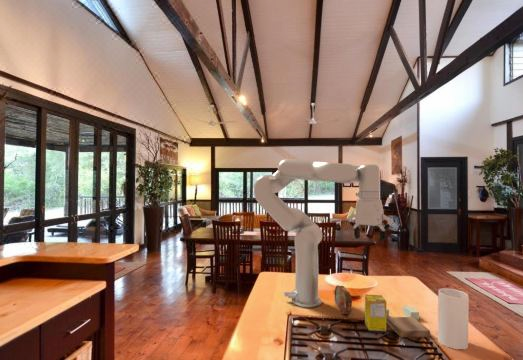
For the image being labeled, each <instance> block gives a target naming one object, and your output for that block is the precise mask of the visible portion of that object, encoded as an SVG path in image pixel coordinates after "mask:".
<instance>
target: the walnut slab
mask: <svg viewBox="0 0 523 360" xmlns="http://www.w3.org/2000/svg"><path fill="white" fill-rule="evenodd" d="M386 325H387V326H389V327H390V328H391V329H392V330H393V331H394V330H395V331H396V332H395V331H394V332H395V333H396V335H398V336H399V337H400V338H417V337H418V338H420V337H421V338H422V337H423V338H426V337H431V330H430V329H428V328H427V327H426V326H425V325H424V324H422V323H421V322H420V321H419V320H416V319H415V318H414V317H407V316H393V317H392V316H391V317H390V316H389V317H386Z"/></svg>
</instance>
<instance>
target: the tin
mask: <svg viewBox="0 0 523 360" xmlns="http://www.w3.org/2000/svg"><path fill="white" fill-rule="evenodd" d="M334 303H335V306H336V307H337V309H338V310H339V311H340V313H341V314H342V315H350V314H351V312H352V303H353V300H352V296H351V293H350V292H349V290H348V289H347V288H346V287H345V286H344V285H335V288H334Z"/></svg>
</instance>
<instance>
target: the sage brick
mask: <svg viewBox="0 0 523 360" xmlns="http://www.w3.org/2000/svg"><path fill="white" fill-rule="evenodd" d="M402 314H404V316H405V317H414V318H415V319H416V320H417V321H419V319H420V315H419V314H420V313H419V311H418V310H416V309H415V307H413V306H411V305H402Z"/></svg>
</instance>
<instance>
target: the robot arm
mask: <svg viewBox="0 0 523 360" xmlns="http://www.w3.org/2000/svg"><path fill="white" fill-rule="evenodd" d="M295 180H303V181H311V182H312V181H313V182H329V183H330V182H331V183H339V184H354V183H355V184H356V183H358V192H355V196H356V197H358V199H356V203H355V211H354V213H353V214H351V215H350V216H348V217H347V220H348V222H349V224H350V226H351V227H352V228H353V229H354V231H353V232H354V237H355V240H358V239H360V237H361V235H360V234H361V229H360V226H371V227H373V226H374V227H379V229H380V231H379V236H380V237H379V239H380V240H379V241H380V242H385V240H386V239H387V230H388V229H389V228H390V227H391V226H392V224H393V222H394V219H393V218H391V217H388V216H387V215H386V214H384V207H383V203H382V199H380V167H379V165H377V164H373V163H372V164H361V165H353V164H350V163H339V162H330V161H329V162H325V161H319V160H310V159H295V158H284V159H282V160H281V161H280V162H279V163H278V166H277V170H276V172H274V173H273V174H263V175H261V176H259V177H258V178H256V180H255V183H254V186H253V195H254V199H255V200H256V202H257V203H258V205H259V206H260V207H261V208H262V209H263V210H264V211H265V212H266V213H267V214H268V215H269V216H270V217H271V218H272V219H273V220H274V221H275V222H276V223H277V224H278V225H279V226H280V227H281V228H282V229H283V230H284V231H286V232H293V231H294V232H295V236H294V250H295V251H294V252H295V278H294V279H295V281H294V282H295V283H294V285H295V288H293V290H291V291H283V294H284V295H283V296H284V297H287V298H288V299H291V303H292V304H294V306H297V307H302V308H308V309H309V308H315V307H316V308H317V307H319V306H321V305H322V303H323V302H322V298H321V297H320V296H319V252H318V251H319V249H318V248H319V247H318V246H319V244H320V243H321V242H322V239H323V231H322V230H321V228H320V226H318V224H317V223H315V221H313V219H311V218H310V216H308V215H307V214H306V213H305V212H304V211H303V210H301V209H299V208H296V207H290V206H288V204H286V203H285V202H284V200H283V199H281V198H280V197H279V196H277V195H276V193H279V192H281V191H282V190H283V189H285V188H286V187H287V186H289V185H290V184H291V183H292V182H294V181H295ZM353 219H354V220H353ZM384 221H387V222H386V224H384Z"/></svg>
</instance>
